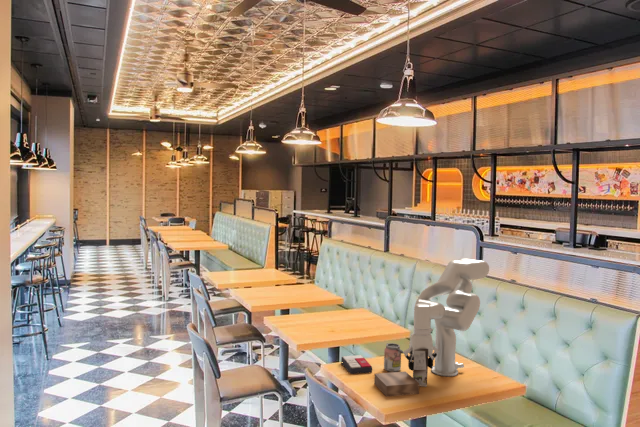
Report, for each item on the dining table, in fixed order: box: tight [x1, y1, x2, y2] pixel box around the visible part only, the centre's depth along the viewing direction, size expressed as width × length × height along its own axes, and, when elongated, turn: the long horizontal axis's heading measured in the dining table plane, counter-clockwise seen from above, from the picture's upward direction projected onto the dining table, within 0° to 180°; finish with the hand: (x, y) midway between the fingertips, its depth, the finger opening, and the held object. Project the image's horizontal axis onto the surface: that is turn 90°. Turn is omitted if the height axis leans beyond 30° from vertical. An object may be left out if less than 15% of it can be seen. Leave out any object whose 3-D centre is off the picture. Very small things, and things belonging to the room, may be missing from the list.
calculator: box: [340, 354, 373, 375], centre depth 237 cm, size 11×4×15 cm
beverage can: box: [383, 342, 404, 373], centre depth 235 cm, size 9×8×12 cm
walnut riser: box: [373, 371, 420, 398], centre depth 212 cm, size 15×14×5 cm
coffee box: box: [412, 349, 429, 387], centre depth 219 cm, size 9×6×16 cm
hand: (420, 368), depth 220 cm, fingers open, 9 cm apart
